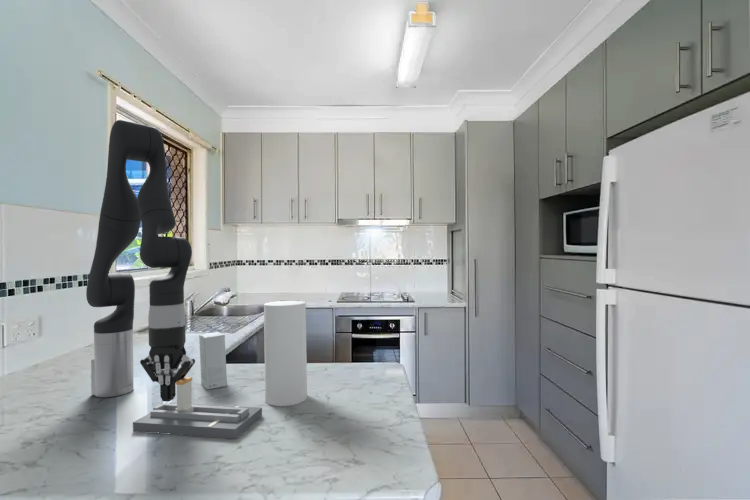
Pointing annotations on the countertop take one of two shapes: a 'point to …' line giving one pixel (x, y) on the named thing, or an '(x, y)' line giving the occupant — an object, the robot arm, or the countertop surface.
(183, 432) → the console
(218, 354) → the skincare box
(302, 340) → the tall pillar cylinder
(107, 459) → the countertop surface
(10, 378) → the countertop surface
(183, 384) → the fader tab
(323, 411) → the countertop surface
